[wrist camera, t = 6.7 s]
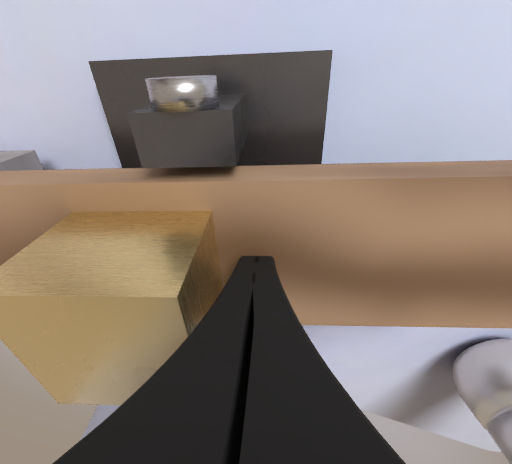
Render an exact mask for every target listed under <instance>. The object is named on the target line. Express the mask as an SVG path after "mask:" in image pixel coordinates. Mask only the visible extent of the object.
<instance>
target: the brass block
mask: <svg viewBox="0 0 512 464" xmlns="http://www.w3.org/2000/svg"><path fill="white" fill-rule="evenodd" d="M222 289H223V284H222V277H221V270H220V263H219V256H218V249H217V242H216V235H215V228H214V221H213V214H212V211H109V212H72V213H71V214H70V215H68V216H67V217H66V218H64V219H63V220H62V221H60V222H59V223H57V224H56V225H55V226H53V227H52V228H51V229H49V230H48V231H47V232H45V233H44V234H43V235H41V236H40V237H39V238H37V239H36V240H35V241H33V242H32V243H31V244H29V245H28V246H27V247H25V248H24V249H22V250H21V251H20V252H18V253H17V254H16V255H14V256H13V257H12V258H10V259H9V260H8V261H6V262H5V263H4V264H2V265H1V266H0V339H1V340H2V341H3V342H4V344H5V345H6V346H7V347H8V348H9V349H10V350H11V351H12V352H13V353H14V354H15V356H16V357H17V358H18V359H19V360H20V361H21V362H22V364H23V365H24V366H25V367H26V368H27V369H28V370H29V371H30V372H31V374H32V375H33V376H34V377H35V378H36V379H37V380H38V381H39V382H40V384H41V385H42V386H43V387H44V388H45V389H46V390H47V391H48V392H49V394H50V395H51V396H52V397H53V398H54V399H55V400H56V401H57V403H62V404H88V405H115V406H121V405H122V404H123V403H124V402H125V401H126V400H127V399H128V398H129V397H130V396H131V395H132V394H133V393H134V392H136V391H137V390H138V389H139V388H140V387H141V386H142V385H143V384H144V383H145V382H146V381H147V380H148V379H149V378H150V377H151V376H152V375H153V374H154V373H155V372H156V371H157V370H158V369H159V368H160V367H161V366H162V365H163V364H164V363H165V362H166V361H167V360H168V358H169V357H170V356H171V355H172V354H173V353H174V352H175V351H176V350H177V349H178V348H179V347H180V345H181V344H182V343H183V342H184V341H185V340H186V338H187V337H188V336H189V335H190V334H191V332H192V331H193V330H194V329H195V327H196V326H197V325H198V324H199V322H200V321H201V320H202V318H203V317H204V316H205V314H206V313H207V311H208V310H209V309H210V307H211V306H212V305H213V303H214V302H215V300H216V299H217V297H218V296H219V294H220V293H221V291H222Z"/></svg>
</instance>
